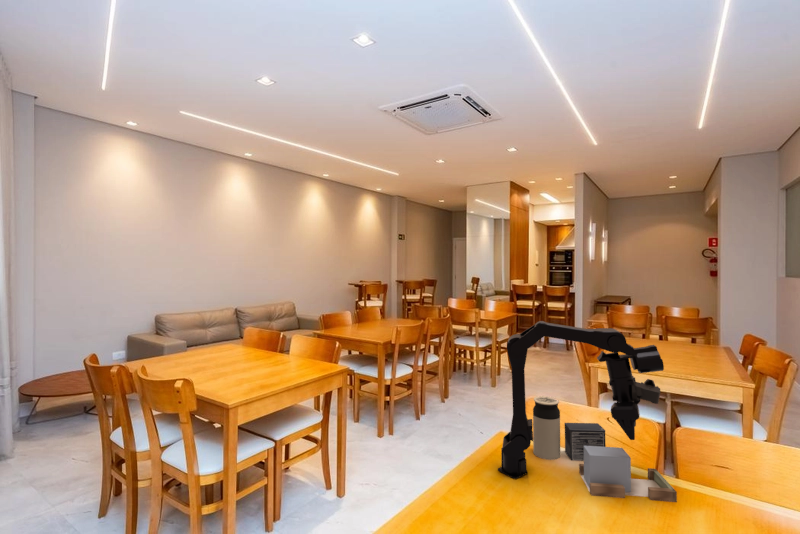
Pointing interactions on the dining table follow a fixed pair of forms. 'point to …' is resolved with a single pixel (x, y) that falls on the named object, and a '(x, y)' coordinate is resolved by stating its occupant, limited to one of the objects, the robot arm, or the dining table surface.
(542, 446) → the travel mug
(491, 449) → the dining table surface
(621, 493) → the brown piece
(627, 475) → the block
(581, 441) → the small box
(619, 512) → the dining table surface
